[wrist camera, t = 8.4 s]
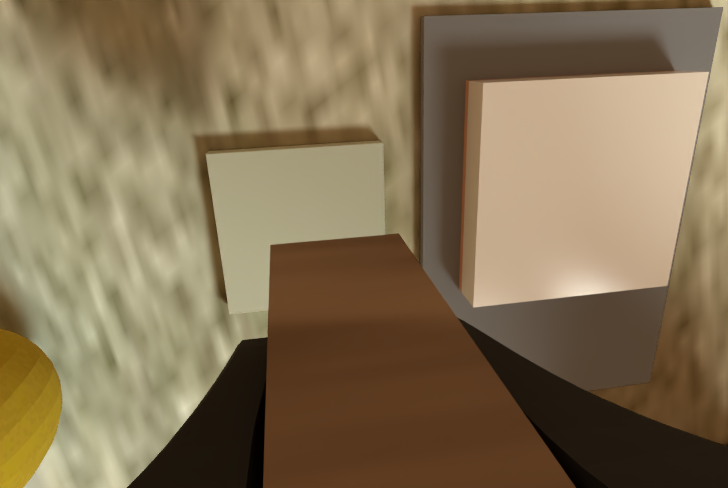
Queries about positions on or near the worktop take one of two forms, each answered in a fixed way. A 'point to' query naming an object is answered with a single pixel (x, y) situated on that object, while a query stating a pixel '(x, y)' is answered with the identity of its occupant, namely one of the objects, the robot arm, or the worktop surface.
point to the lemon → (25, 408)
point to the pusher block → (383, 380)
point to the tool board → (290, 206)
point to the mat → (445, 170)
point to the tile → (574, 182)
